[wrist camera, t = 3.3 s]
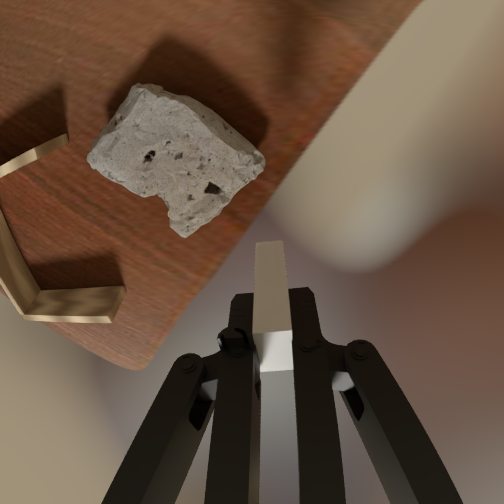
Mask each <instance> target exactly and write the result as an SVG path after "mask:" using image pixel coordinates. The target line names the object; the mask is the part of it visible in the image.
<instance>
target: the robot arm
mask: <svg viewBox="0 0 504 504" xmlns="http://www.w3.org/2000/svg"><path fill="white" fill-rule="evenodd" d="M254 281H255V282H254V293H244V294H236V295H235V297H234V298H233V300H232V301H231V307H230V315H229V323H228V327H227V328H225V329H223V330H222V331H221V332H220V333H219V334H218V337H217V341H218V344H219V346H220V349H221V350H220V351H219V352H217V353H215V354H213V355H210V356H206V357H203V358H201V357H200V356H199V355H197V354H194V353H193V354H192V353H188V354H184V355H182V356H180V357H179V358H177V360H176V361H175V362H174V364H173V366H172V368H171V370H170V371H169V373H168V375H167V377H166V379H165V381H164V383H163V385H162V386H161V388H160V390H159V392H158V394H157V396H156V398H155V400H154V402H153V404H152V406H151V407H150V409H149V411H148V413H147V415H146V417H145V419H144V421H143V423H142V425H141V427H140V429H139V430H138V432H137V434H136V436H135V438H134V440H133V442H132V444H131V446H130V448H129V450H128V452H127V454H126V456H125V458H124V460H123V462H122V464H121V466H120V468H119V469H118V471H117V473H116V475H115V477H114V480H113V481H112V483H111V485H110V487H109V489H108V491H107V493H106V495H105V497H104V499H103V501H102V503H101V504H175V501H176V499H177V497H178V495H179V492H180V490H181V487H182V485H183V483H184V480H185V478H186V476H187V473H188V471H189V469H190V466H191V464H192V461H193V459H194V457H195V454H196V452H197V449H198V447H199V445H200V442H201V440H202V437H203V435H204V432H205V430H206V427H207V425H208V423H209V420H210V417H211V415H212V413H213V410H214V416H213V425H212V433H211V443H210V452H209V462H208V471H207V480H206V491H205V501H204V504H259V477H260V423H261V421H260V420H261V418H260V417H261V380H260V371H261V372H266V371H281V370H293V372H294V389H295V403H296V423H297V445H298V471H299V504H346V499H345V487H344V476H343V466H342V457H341V448H340V439H339V431H338V424H337V416H336V409H335V402H334V395H333V390H339V392H340V394H341V396H342V398H343V401H344V403H345V405H346V407H347V409H348V411H349V413H350V416H351V418H352V420H353V422H354V424H355V426H356V428H357V431H358V433H359V435H360V437H361V439H362V441H363V443H364V446H365V448H366V450H367V452H368V455H369V457H370V459H371V461H372V463H373V465H374V468H375V470H376V472H377V474H378V477H379V479H380V481H381V483H382V485H383V488H384V490H385V492H386V494H387V497H388V499H389V501H390V504H463V502H462V500H461V498H460V496H459V494H458V492H457V490H456V488H455V486H454V484H453V482H452V480H451V478H450V476H449V474H448V472H447V470H446V468H445V466H444V464H443V462H442V460H441V458H440V457H439V455H438V453H437V451H436V449H435V448H434V446H433V444H432V442H431V440H430V438H429V436H428V435H427V433H426V431H425V429H424V428H423V426H422V424H421V422H420V421H419V419H418V417H417V415H416V414H415V412H414V410H413V409H412V407H411V405H410V403H409V402H408V400H407V398H406V397H405V395H404V394H403V392H402V390H401V388H400V387H399V385H398V383H397V382H396V380H395V378H394V377H393V375H392V374H391V372H390V370H389V369H388V367H387V365H386V364H385V362H384V361H383V359H382V357H381V356H380V355H379V353H378V351H377V350H376V348H375V347H374V346H373V345H372V344H371V343H370V342H368V341H366V340H354V341H352V342H350V343H348V345H347V346H342V345H336V344H332V343H330V342H328V341H327V340H326V339H325V338H324V337H323V336H322V333H321V329H320V324H319V318H318V313H317V308H316V303H315V297H314V293H313V292H312V291H311V290H310V289H309V288H308V287H303V288H293V289H288V285H287V275H286V265H285V256H284V248H283V241H282V240H279V241H270V242H259V243H256V253H255V280H254Z"/></svg>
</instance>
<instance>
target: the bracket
mask: <svg viewBox="0 0 504 504" xmlns="http://www.w3.org/2000/svg"><path fill="white" fill-rule="evenodd" d="M67 143H69V140H68V137H67V133H65V134H63V135H61V136H59V137H56V138H54V139H52V140H50V141H48V142H45V143H43V144H41V145H39V146H37V147H35V148H33V149H31V150H29V151H27V152H25V153H23V154H21V155H20V156H18V157H16V158H14V159H12V160H10V161H9V162H7V163H5V164H3V165H2V166H0V178H1V177H3V176H4V175H6V174H8V173H10V172H12V171H14V170H16V169H18V168H20V167H22V166H24V165H26V164H28V163H30V162H32V161H34V160H36V159H38V158H40V157H42V156H44V155H46V154H48V153H49V152H51V151H53V150H55V149H57V148H59V147H61V146H63V145H65V144H67ZM0 283H1V285H2V287H3V288H4V290H5V292H6V293H7V295H8V296H9V298H10V300H11V301H12V303H13V304H14V306H15V307H16V309H17V310H18V312H19V313H20V315H21V316H22V317H23V319H24V320H34V321H52V322H81V323H112V322H113V319H114V317H115V315H116V313H117V311H118V309H119V307H120V304H121V302H122V300H123V298H124V296H125V294H126V290H125V288H124V286H108V287H93V288H77V289H59V290H41V289H40V288H39V286H38V284H37V283H36V281H35V279H34V277H33V276H32V274H31V272H30V270H29V268H28V267H27V265H26V263H25V261H24V259H23V257H22V255H21V253H20V251H19V249H18V247H17V245H16V243H15V241H14V239H13V237H12V235H11V232H10V230H9V228H8V226H7V223H6V221H5V219H4V216H3V214H2V211H1V209H0Z"/></svg>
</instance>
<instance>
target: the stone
mask: <svg viewBox="0 0 504 504" xmlns="http://www.w3.org/2000/svg"><path fill="white" fill-rule="evenodd" d="M87 161H88V162H89V163H90V165H91V167H92V168H93V169H95V170H97V171H99V172H100V173H101V174H102V175H103V176H105V177H106V178H108V179H110V180H112V181H114V182H117V183H119V184H121V185H123V186H124V187H126V188H127V189H128V190H130V191H131V192H133V193H136V194H138V195H140V196H142V197H148V196H153V195H156V194H158V196H159V197H161V198H162V199H163V200H164V201H165V203H166V205H167V207H168V211H169V212H168V217H170V227H171V228H172V229H173V230H175V231H176V232H177V233H178V234H179V235H180V236H182V237H184V238H186V237H188V236H189V235H191V234H192V233H193V232H195V231H196V230H197V229H198V228H199V227H200V226H201V225H204V224H206V223H208V222H210V221H211V219H212V218H214V217H215V216H217V215H219V214H220V213H221V211H222V209H223V207H224V206H226V205H228V204H229V202H230V201H231V199H232V198H233V196H234V195H235V194H236V193H237V192H238V190H240V189H241V188H242V187H243V186H245V185H246V184H248V183H249V182H250V181H251V180H252V179H255V178H256V177H257V175H258V174H259V173H261V172H263V171H264V167H265V164H266V162H265V158H264V157H263V155H262V154H261V153H260V152H259V151H258V150H257V149H256V148H255V147H254V145H252V144H251V143H250V142H249V141H248V140H247V139H246V138H244V137H243V136H242V135H241V134H240V133H238V132H237V131H236V130H235V129H234V128H233V127H231V126H230V125H229V124H228V123H227V122H225V121H224V120H223V119H222V118H221V117H220V116H219V115H217V114H216V113H215V112H214V111H213V110H212V109H210V108H208V107H206V106H204V105H203V104H201V103H200V102H198V101H197V100H195V99H193V98H191V97H189V96H187V95H176V94H173V93H170V92H167V91H164V90H163V87H161V86H158V85H154V84H151V83H150V84H144V85H142V84H140V83H137V84H136V85H134V86H132V88H131V90H130V92H129V94H128V96H127V97H126V99H125V100H124V102H123V103H122V104H121V105H120V107H119V108H118V110H117V112H116V113H115V115H114V116H113V118H112V119H111V120H110V122H109V123H108V124H107V125H106V126H105V127H104V128H103V130H102V132H101V134H100V136H99V137H97V138H95V139H94V140H93V142H92V148H91V150H90V151H89V154H88V156H87Z"/></svg>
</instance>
